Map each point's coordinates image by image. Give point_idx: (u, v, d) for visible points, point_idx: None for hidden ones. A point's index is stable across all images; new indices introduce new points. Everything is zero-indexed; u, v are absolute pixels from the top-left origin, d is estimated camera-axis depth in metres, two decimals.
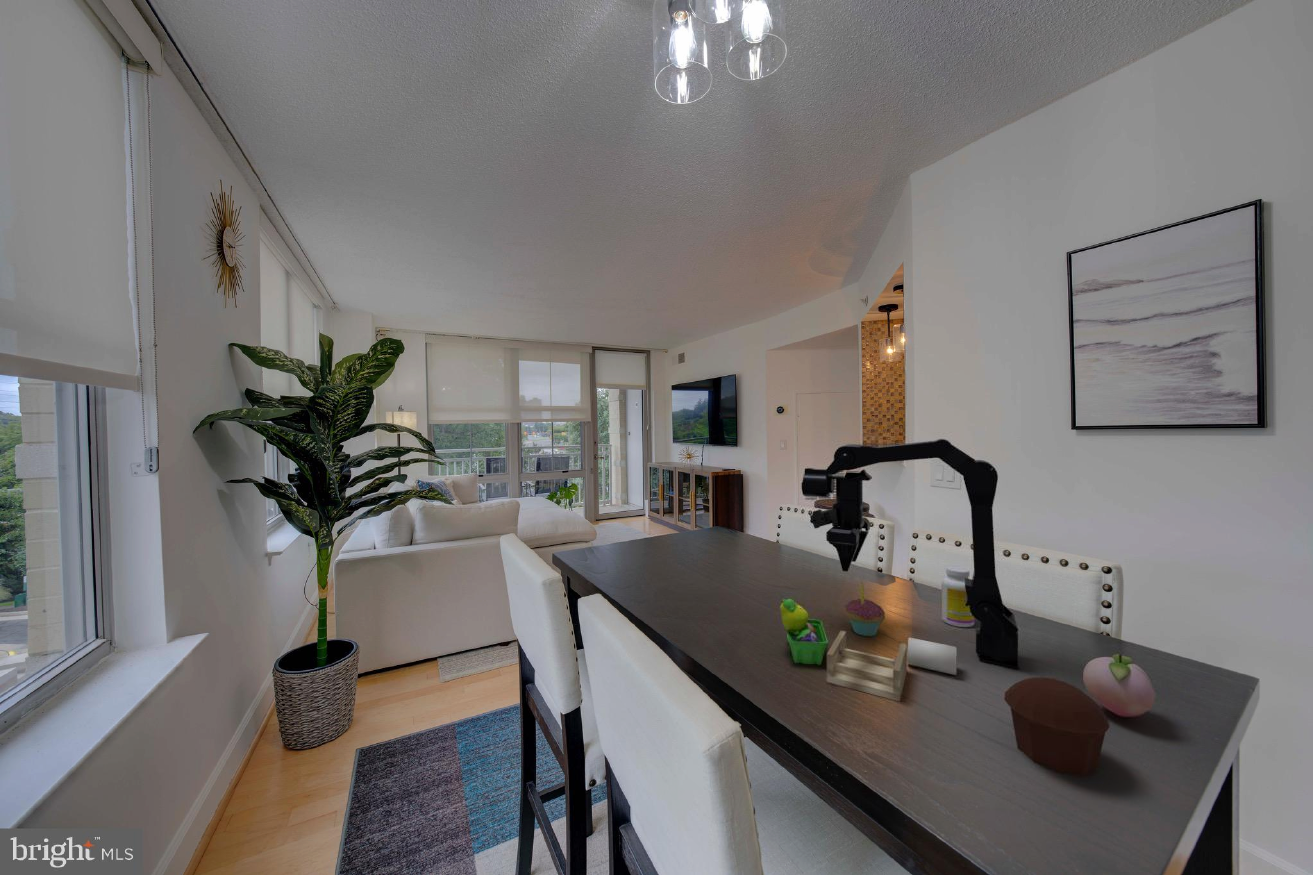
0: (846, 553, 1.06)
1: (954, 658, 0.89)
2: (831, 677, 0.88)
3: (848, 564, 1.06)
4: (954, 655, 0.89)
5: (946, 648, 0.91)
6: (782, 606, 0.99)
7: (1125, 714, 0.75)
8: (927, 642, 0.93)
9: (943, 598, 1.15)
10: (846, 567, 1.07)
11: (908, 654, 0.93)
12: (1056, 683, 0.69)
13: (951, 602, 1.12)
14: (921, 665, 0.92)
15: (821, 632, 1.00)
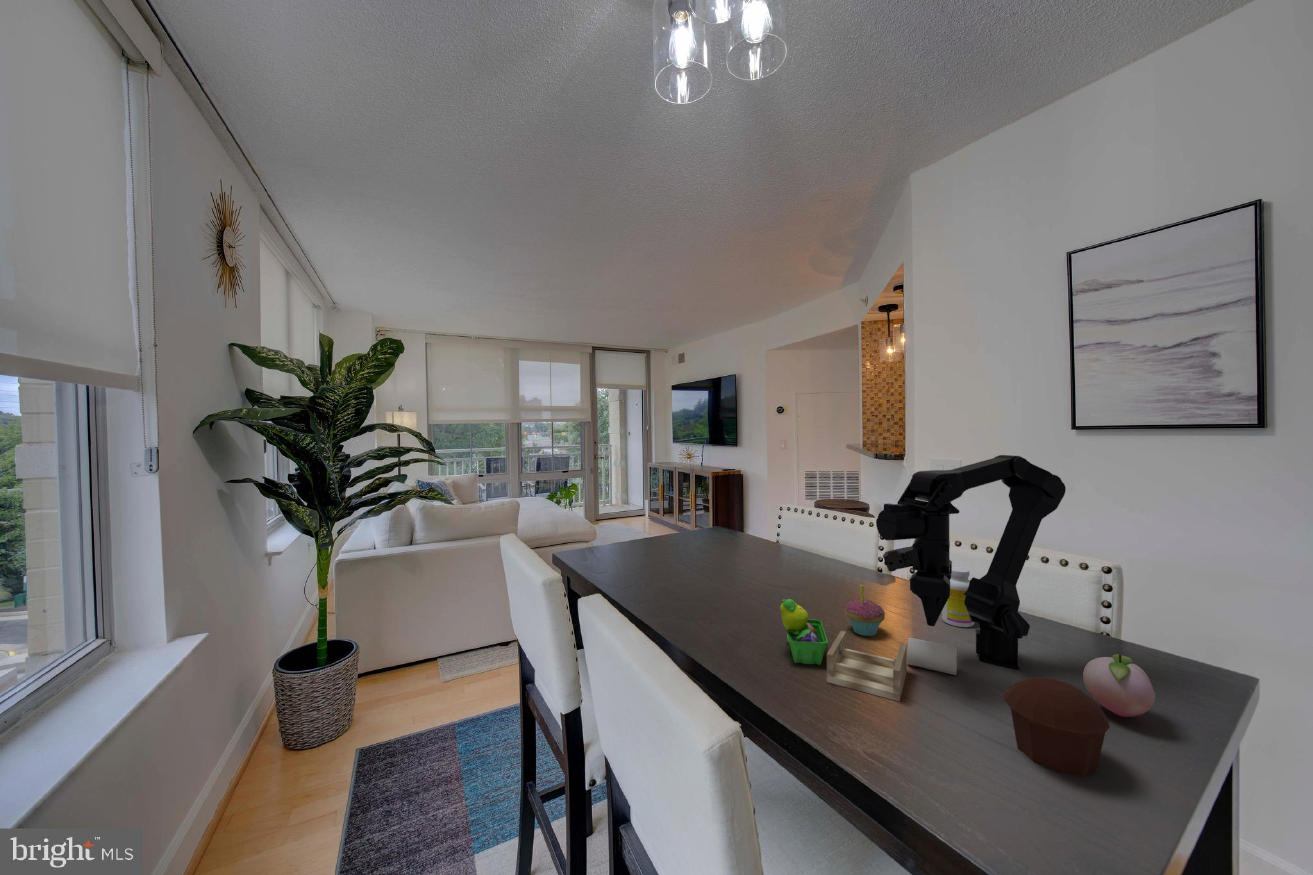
0: (933, 605, 0.88)
1: (954, 658, 0.89)
2: (831, 677, 0.88)
3: (936, 618, 0.88)
4: (954, 655, 0.89)
5: (946, 648, 0.91)
6: (782, 606, 0.99)
7: (1125, 714, 0.75)
8: (927, 642, 0.93)
9: None
10: (933, 621, 0.88)
11: (908, 654, 0.93)
12: (1056, 683, 0.69)
13: (951, 602, 1.12)
14: (921, 665, 0.92)
15: (821, 632, 1.00)
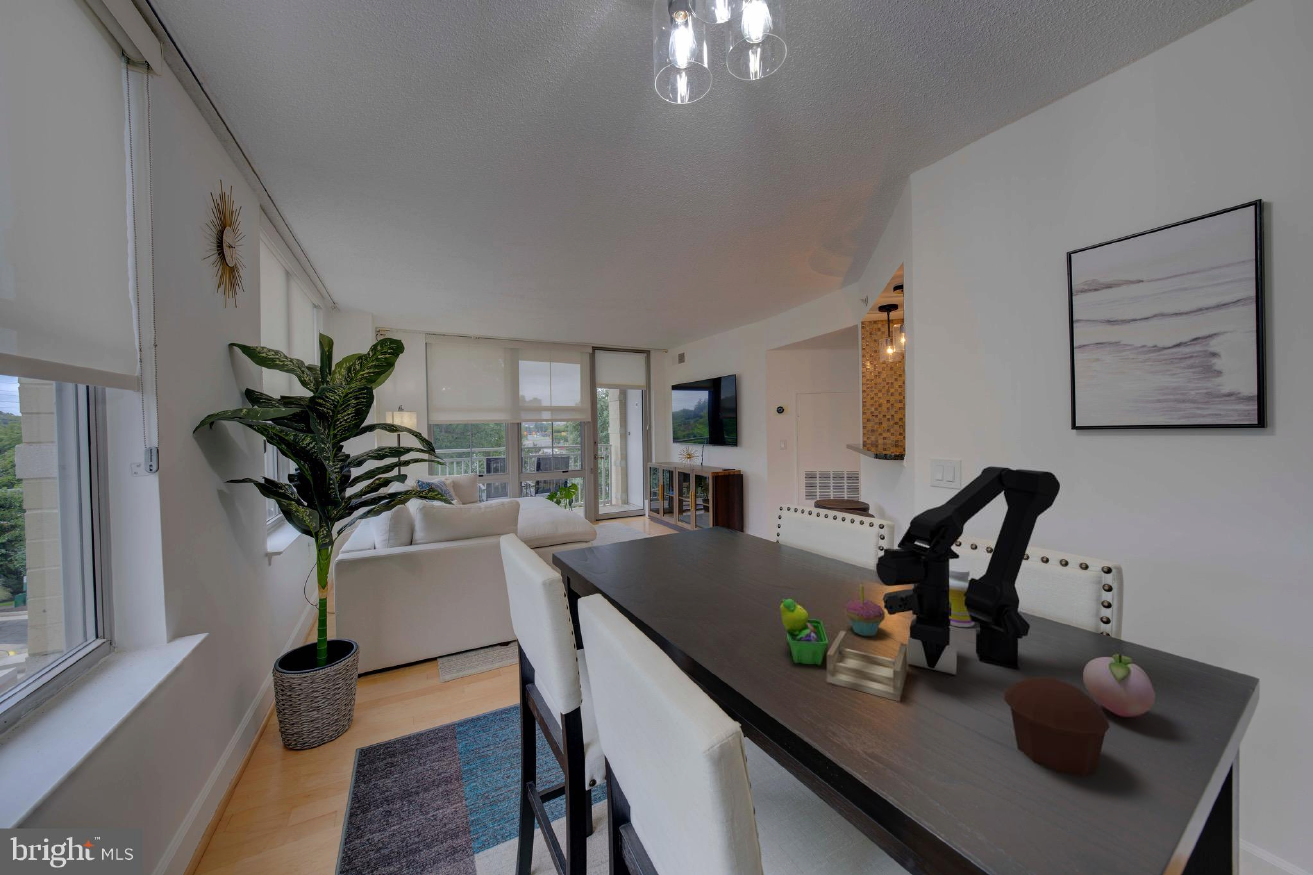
0: (933, 647, 0.89)
1: (954, 657, 0.89)
2: (831, 677, 0.88)
3: (936, 660, 0.90)
4: (954, 654, 0.89)
5: (946, 647, 0.91)
6: (782, 606, 0.99)
7: (1125, 714, 0.75)
8: None
9: None
10: (933, 664, 0.90)
11: (908, 653, 0.93)
12: (1056, 683, 0.69)
13: (951, 602, 1.12)
14: (921, 664, 0.92)
15: (821, 632, 1.00)
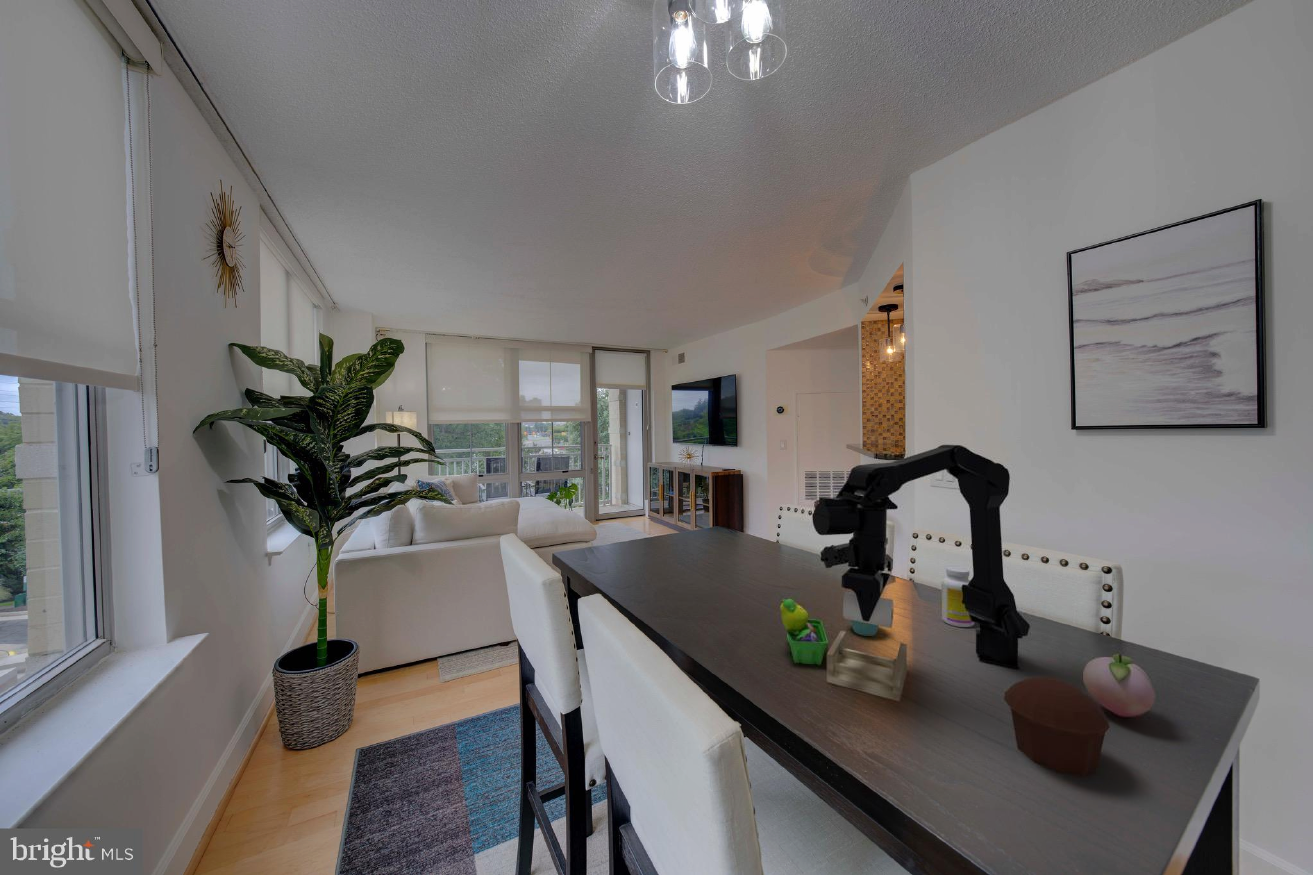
0: (868, 599, 0.86)
1: (888, 609, 0.86)
2: (831, 677, 0.88)
3: (870, 613, 0.87)
4: (889, 607, 0.86)
5: (881, 600, 0.88)
6: (782, 606, 0.99)
7: (1125, 714, 0.75)
8: None
9: (943, 598, 1.15)
10: (867, 617, 0.87)
11: (844, 607, 0.90)
12: (1056, 683, 0.69)
13: (951, 602, 1.12)
14: (856, 618, 0.89)
15: (821, 632, 1.00)
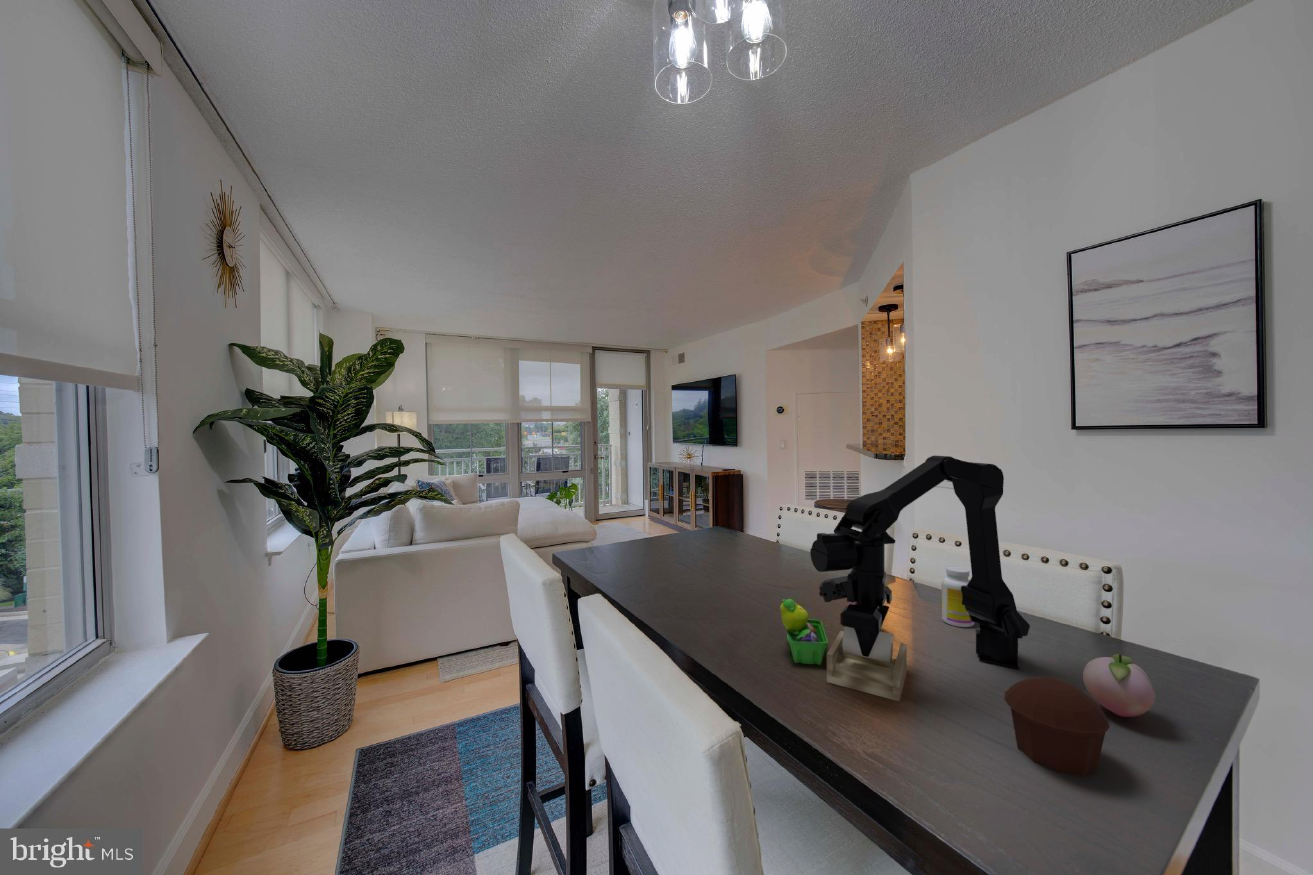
0: (867, 635, 0.86)
1: (888, 645, 0.86)
2: (831, 677, 0.88)
3: (869, 648, 0.87)
4: (888, 642, 0.86)
5: (881, 635, 0.88)
6: (782, 606, 0.99)
7: (1125, 714, 0.75)
8: None
9: (943, 598, 1.15)
10: (867, 652, 0.87)
11: (843, 642, 0.90)
12: (1056, 683, 0.69)
13: (951, 602, 1.12)
14: (856, 653, 0.89)
15: (821, 632, 1.00)
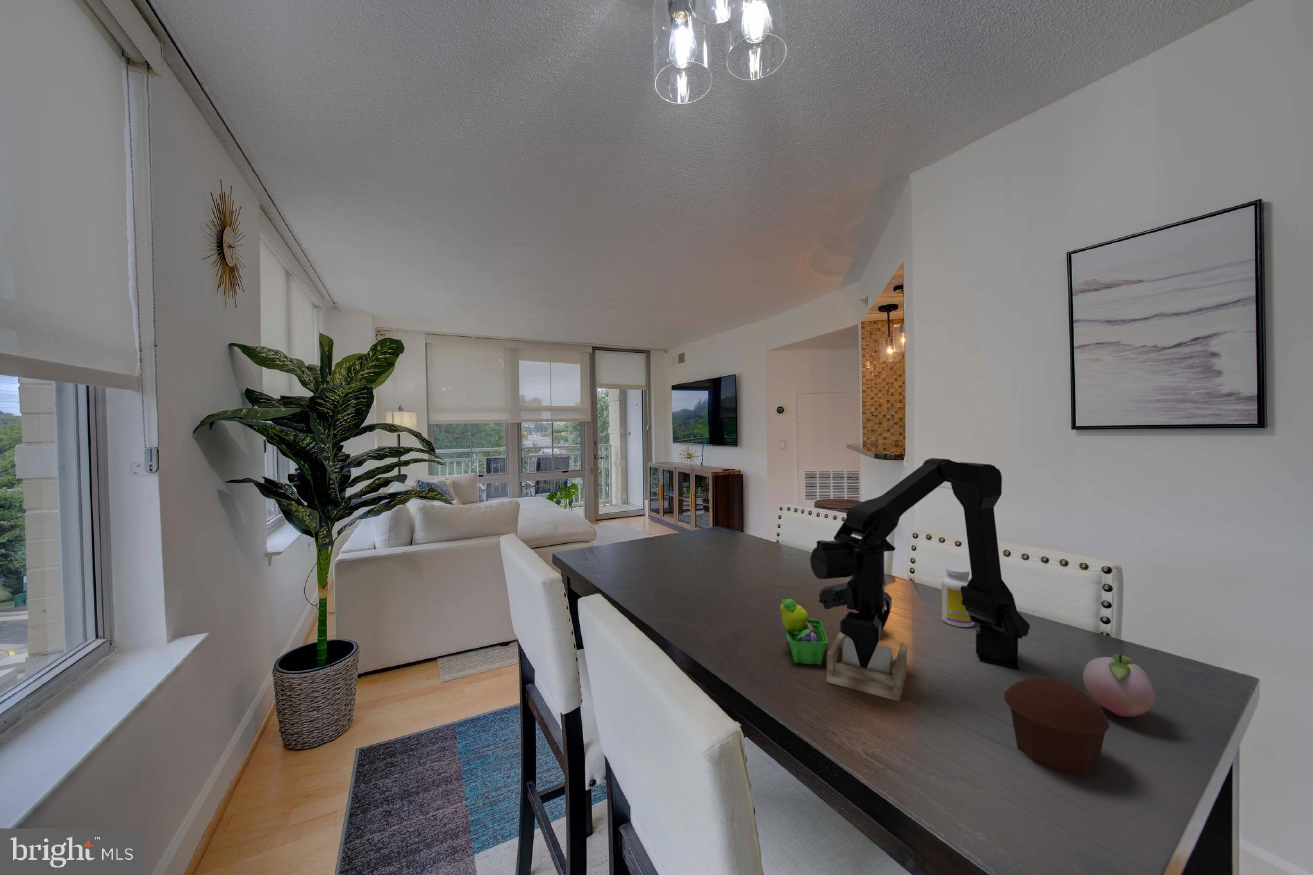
0: (865, 646, 0.85)
1: (888, 659, 0.86)
2: (831, 677, 0.88)
3: (867, 660, 0.85)
4: (888, 656, 0.86)
5: (880, 649, 0.88)
6: (782, 606, 0.99)
7: (1125, 714, 0.75)
8: None
9: (943, 598, 1.15)
10: (865, 663, 0.86)
11: (843, 655, 0.90)
12: (1056, 683, 0.69)
13: (951, 602, 1.12)
14: None
15: (821, 632, 1.00)
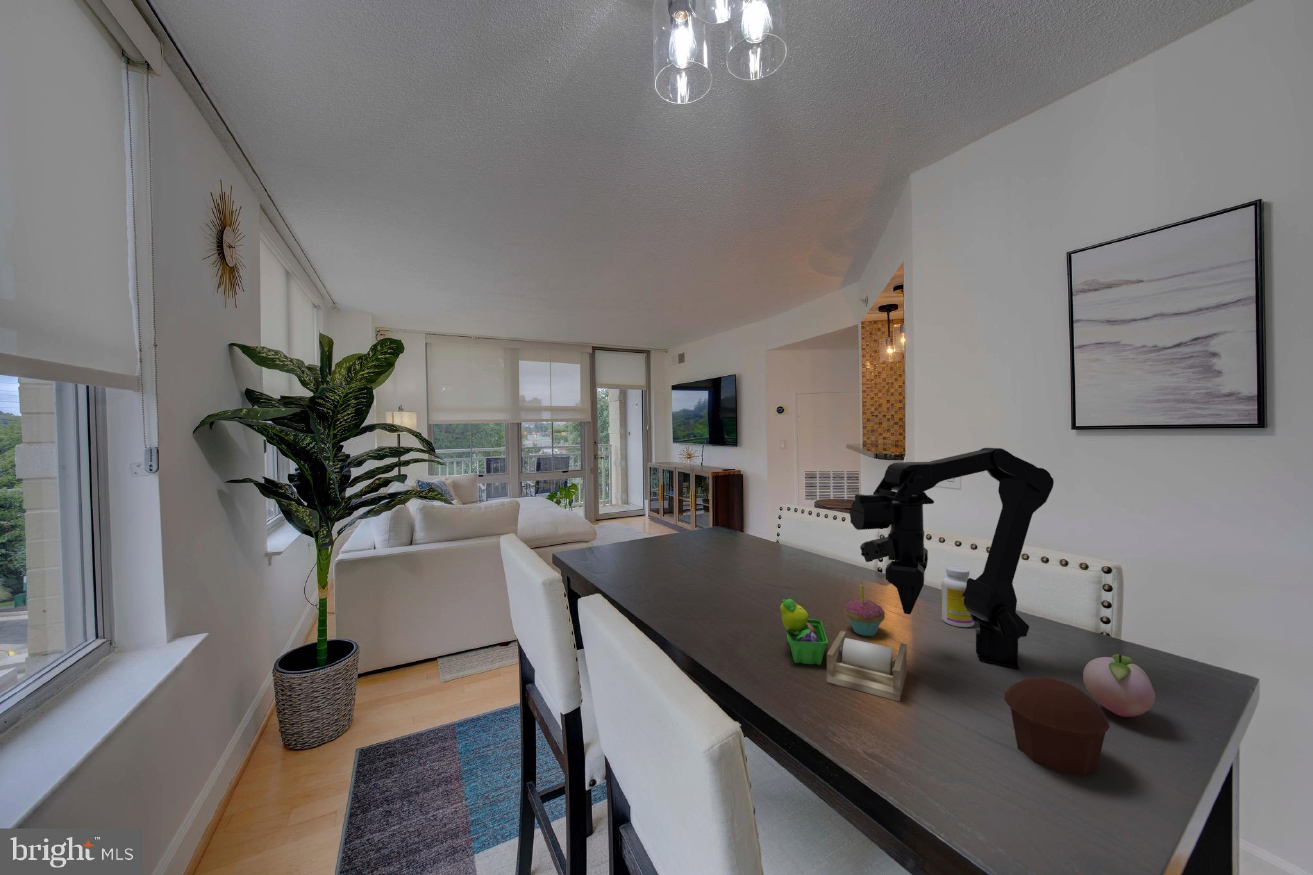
0: (909, 593, 0.89)
1: (888, 659, 0.86)
2: (831, 677, 0.88)
3: (911, 606, 0.90)
4: (888, 656, 0.86)
5: (880, 649, 0.88)
6: (782, 606, 0.99)
7: (1125, 714, 0.75)
8: (863, 643, 0.90)
9: (943, 598, 1.15)
10: (909, 610, 0.90)
11: (843, 655, 0.90)
12: (1056, 683, 0.69)
13: (951, 602, 1.12)
14: None
15: (821, 632, 1.00)
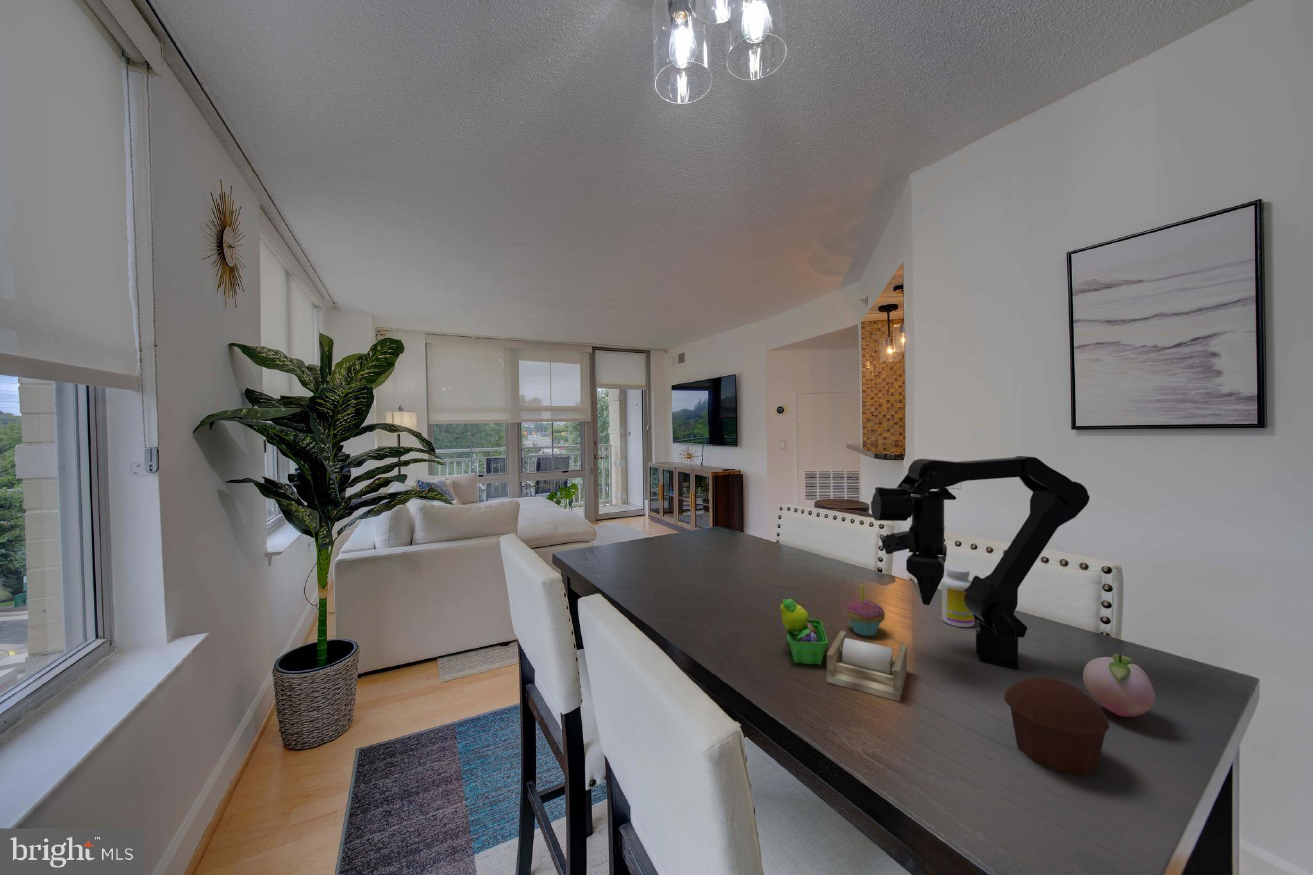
0: (928, 584, 0.92)
1: (888, 660, 0.86)
2: (831, 677, 0.88)
3: (930, 597, 0.93)
4: (888, 657, 0.86)
5: (880, 649, 0.88)
6: (782, 606, 0.99)
7: (1125, 714, 0.75)
8: (863, 643, 0.90)
9: (943, 598, 1.15)
10: (928, 601, 0.93)
11: (843, 656, 0.90)
12: (1056, 683, 0.69)
13: (951, 602, 1.12)
14: None
15: (821, 632, 1.00)
